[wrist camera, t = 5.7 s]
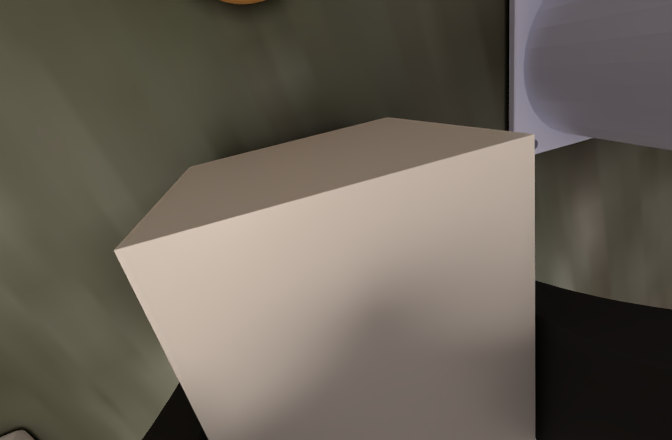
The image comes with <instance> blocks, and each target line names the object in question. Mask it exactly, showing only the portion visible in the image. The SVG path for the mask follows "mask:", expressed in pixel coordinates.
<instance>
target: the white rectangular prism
mask: <svg viewBox="0 0 672 440" xmlns="http://www.w3.org/2000/svg"><path fill="white" fill-rule="evenodd" d="M114 252H115V254H116V256H117V258H118V260H119V262H120V264H121V266H122V268H123V270H124V272H125V274H126V276H127V278H128V280H129V282H130V284H131V286H132V288H133V290H134V292H135V294H136V296H137V298H138V300H139V302H140V304H141V306H142V308H143V310H144V312H145V314H146V316H147V318H148V320H149V322H150V324H151V326H152V328H153V330H154V332H155V334H156V336H157V338H158V340H159V342H160V344H161V346H162V348H163V350H164V352H165V354H166V356H167V358H168V360H169V362H170V364H171V366H172V368H173V370H174V372H175V374H176V376H177V378H178V380H179V382H180V384H181V386H182V388H183V390H184V392H185V394H186V396H187V398H188V400H189V402H190V404H191V406H192V408H193V410H194V412H195V414H196V416H197V418H198V420H199V422H200V424H201V426H202V428H203V430H204V432H205V434H206V436H207V438H208V440H535V134H529V133H520V132H512V131H503V130H494V129H485V128H477V127H468V126H459V125H451V124H442V123H433V122H425V121H416V120H407V119H399V118H390V117H386V118H382V119H378V120H374V121H370V122H366V123H362V124H358V125H354V126H350V127H346V128H342V129H338V130H334V131H330V132H326V133H322V134H318V135H314V136H310V137H306V138H302V139H298V140H294V141H290V142H286V143H282V144H278V145H274V146H270V147H266V148H262V149H258V150H254V151H250V152H246V153H242V154H238V155H234V156H230V157H226V158H222V159H218V160H214V161H210V162H206V163H202V164H198V165H194V166H190V167H189V168H188V169H187V170H186V171H185V172H184V174H183V175H182V176H181V177H180V178H179V179H178V180H177V181H176V182H175V183H174V185H173V186H172V187H171V188H170V189H169V190H168V191H167V192H166V193H165V194H164V196H163V197H162V198H161V199H160V200H159V201H158V202H157V203H156V204H155V205H154V207H153V208H152V209H151V210H150V211H149V212H148V213H147V214H146V215H145V216H144V218H143V219H142V220H141V221H140V222H139V223H138V224H137V225H136V226H135V227H134V229H133V230H132V231H131V232H130V233H129V234H128V235H127V236H126V237H125V238H124V240H123V241H122V242H121V243H120V244H119V245H118V246H117V247H116V248H115V249H114Z"/></svg>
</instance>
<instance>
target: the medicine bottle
mask: <svg viewBox="0 0 672 440" xmlns="http://www.w3.org/2000/svg"><path fill="white" fill-rule="evenodd" d="M0 440H34V439H33V438H32V437H31V436H30V435H29V434H28V433H27V432H26V431H24V430H18V431H14V432H12V433H9V434H7V435H4V436H2V437H0Z"/></svg>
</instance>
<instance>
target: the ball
mask: <svg viewBox="0 0 672 440" xmlns="http://www.w3.org/2000/svg"><path fill="white" fill-rule="evenodd" d="M220 1H224V2H228V3H233V4H252V3H257V2H261V1H264V0H220Z"/></svg>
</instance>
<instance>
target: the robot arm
mask: <svg viewBox="0 0 672 440" xmlns="http://www.w3.org/2000/svg"><path fill="white" fill-rule="evenodd" d="M509 131H512V132H520V133H529V134H535V154H538V153H542V152H545V151H549V150H552V149H556V148H559V147H563V146H566V145H570V144H573V143H577V142H581V141H584V140H588V139H591V138H598V139H604V140H610V141H617V142H623V143H629V144H635V145H642V146H648V147H654V148H660V149H666V150H672V0H510V5H509ZM535 438H536V440H672V310H671V309H664V308H657V307H651V306H645V305H639V304H633V303H627V302H621V301H616V300H611V299H606V298H601V297H597V296H592V295H588V294H584V293H579V292H575V291H571V290H567V289H563V288H559V287H556V286H552V285H549V284H545V283H542V282H538V281H535ZM142 440H208V438H207V436H206V434H205V432H204V430H203V428H202V426H201V424H200V422H199V420H198V418H197V416H196V414H195V412H194V410H193V408H192V406H191V404H190V402H189V400H188V398H187V396H186V394H185V392H184V390H183V388H182V386H181V384H180V382H179V384H178V386H177V387H176V389H175V391H174V392H173V394H172V396H171V397H170V399H169V400H168V402H167V403H166V405H165V406H164V408H163V409H162V411H161V413H160V414H159V416H158V417H157V419H156V420H155V422H154V423H153V425H152V426H151V428H150V429H149V431H148V432H147V433H146V435H145V436H144V438H143V439H142Z"/></svg>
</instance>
